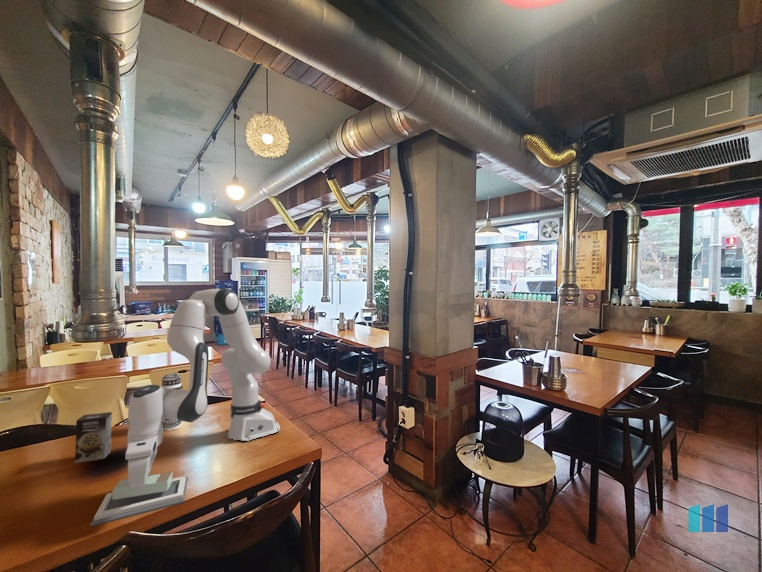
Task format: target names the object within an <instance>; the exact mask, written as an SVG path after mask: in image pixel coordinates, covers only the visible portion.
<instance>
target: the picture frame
mask: <svg viewBox="0 0 762 572" xmlns="http://www.w3.org/2000/svg"><path fill="white" fill-rule="evenodd" d="M188 479H189V476H187V475H185V476H180V477H179V476H178V477H175V478H172V483H171V485H170V487H169V489H168V490H167V491H163V492H157V493H151V494H145V495H139V496H133V497H127V498H121V499H115V500H113V491H112V492H109V493H106V495H105V496H104V499H103V500H102V502H101V504H100V505H99V506H98V507H99V508H98V509H97V511H96V513H95V515H94V517H93V518H92V520H91V522H90V525H89V527H94V526H97V525H101V524H106V523H109V522H114V521H117V520H121V519H122V520H123V519H124V518H128V517H132V516H137V515H140V514H145V513H148V512H152V511H156V510H159V509H160V510H161V509H164V508H167V507H171V506H175V505H180V504H183V503H185V497H186V490H187V484H188Z"/></svg>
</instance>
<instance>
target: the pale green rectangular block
mask: <svg viewBox="0 0 762 572" xmlns="http://www.w3.org/2000/svg"><path fill="white" fill-rule="evenodd" d="M172 479H173V472H172V471H171V472H166V473H165V472H164V473H158V474H153V475H152V474H150V476H147V479H146V481H145V482H146V488H145V490H144V491H142V492H138V491H137V488H138V487H137V486H133V487H130V485H129V481H128V478H125V479H120V480H119V481H118V483H117V484H116V485H115V486H114V488H113V489H112V492H113V500H115V499H121V498H127V497H133V496H139V495H145V494H151V493H157V492H163V491H167V490H168V489H169V487H170V485H171V483H172Z"/></svg>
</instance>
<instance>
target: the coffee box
mask: <svg viewBox="0 0 762 572" xmlns="http://www.w3.org/2000/svg"><path fill="white" fill-rule="evenodd" d="M112 416H113V411H110V412H98V413H92V414H83V415H82V416H80V417H78V419H76V422H75V423H76V424H75V425H76V426H75V454H74V464H79V463H85V462H92V461H98V460H104V459H105V458H107V456H108V455H109V454H110V453H111V447H112V446H111V445H112V418H113V417H112Z"/></svg>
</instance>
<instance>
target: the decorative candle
mask: <svg viewBox="0 0 762 572" xmlns="http://www.w3.org/2000/svg"><path fill="white" fill-rule="evenodd" d="M161 387H162V388H165V389H177V390H182V389H183V388H184V387H183V385H182V375H180V373H178V372H177V373H176V372H175V373H173V372H172V373H168V374H165V375H164V376H163V377H162V378H161ZM162 425H163V430H169V431H173V430H172V429H174V430H176V429H178V427H179V426H180V425H181V426H182V421H180V420H169V419H164V420H163V421H162ZM181 426H180V427H181ZM180 427H179V428H180ZM175 428H176V429H175Z"/></svg>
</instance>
